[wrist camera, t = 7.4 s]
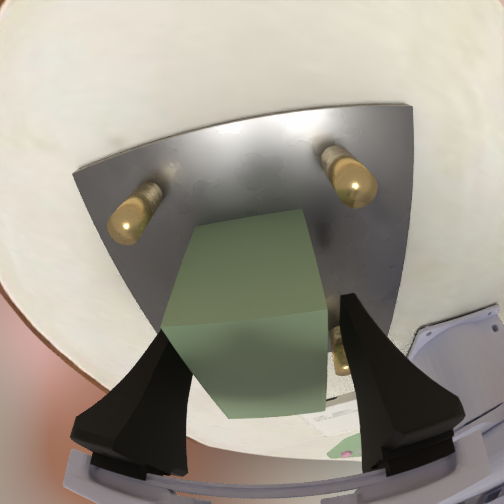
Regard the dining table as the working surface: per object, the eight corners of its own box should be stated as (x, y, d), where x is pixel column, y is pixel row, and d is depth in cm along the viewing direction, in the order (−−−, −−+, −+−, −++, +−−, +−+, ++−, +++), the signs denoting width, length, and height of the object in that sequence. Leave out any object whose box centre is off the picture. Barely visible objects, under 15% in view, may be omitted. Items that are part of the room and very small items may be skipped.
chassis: (406, 104, 10) (452, 120, 7) (383, 335, 19) (396, 374, 16) (78, 169, 12) (36, 201, 9) (180, 358, 21) (172, 397, 18)
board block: (302, 208, 12) (327, 309, 7) (313, 323, 17) (325, 411, 12) (195, 226, 13) (160, 327, 8) (235, 332, 17) (228, 418, 13)
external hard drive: (323, 427, 33) (293, 402, 27) (378, 413, 31) (367, 382, 24) (324, 437, 32) (294, 415, 25) (380, 422, 29) (370, 396, 23)
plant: (302, 441, 37) (304, 488, 30) (424, 405, 31) (436, 454, 24) (338, 458, 50) (340, 490, 43) (421, 432, 44) (427, 465, 36)
